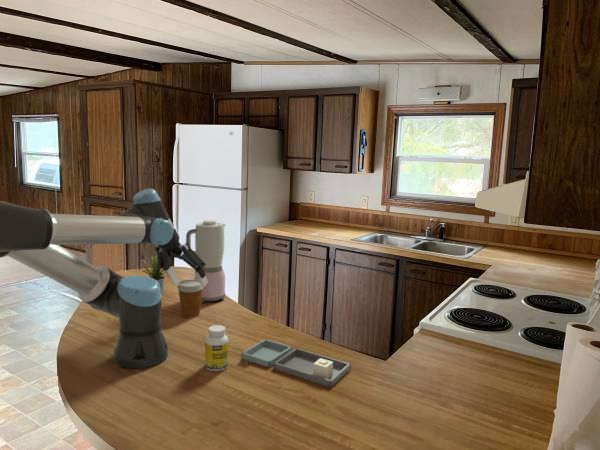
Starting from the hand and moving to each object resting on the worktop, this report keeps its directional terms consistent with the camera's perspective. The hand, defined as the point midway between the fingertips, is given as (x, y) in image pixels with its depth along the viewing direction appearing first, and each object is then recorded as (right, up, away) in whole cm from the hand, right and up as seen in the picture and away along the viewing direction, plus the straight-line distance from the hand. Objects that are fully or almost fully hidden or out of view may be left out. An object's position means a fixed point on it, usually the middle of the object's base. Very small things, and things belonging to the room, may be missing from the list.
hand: (191, 284), depth 166 cm
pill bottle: (+14, -20, -30) cm, 39 cm away
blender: (0, -10, +27) cm, 29 cm away
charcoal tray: (+41, -21, -31) cm, 56 cm away
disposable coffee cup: (-2, -13, +10) cm, 16 cm away
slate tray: (+28, -19, -23) cm, 41 cm away
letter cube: (+44, -21, -35) cm, 60 cm away
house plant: (-21, -8, +33) cm, 40 cm away
